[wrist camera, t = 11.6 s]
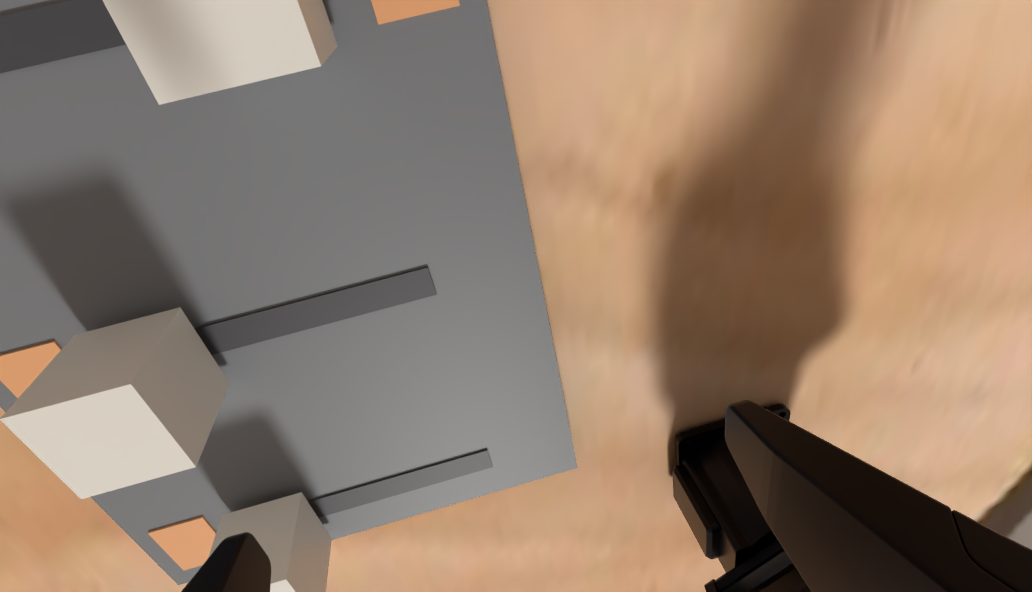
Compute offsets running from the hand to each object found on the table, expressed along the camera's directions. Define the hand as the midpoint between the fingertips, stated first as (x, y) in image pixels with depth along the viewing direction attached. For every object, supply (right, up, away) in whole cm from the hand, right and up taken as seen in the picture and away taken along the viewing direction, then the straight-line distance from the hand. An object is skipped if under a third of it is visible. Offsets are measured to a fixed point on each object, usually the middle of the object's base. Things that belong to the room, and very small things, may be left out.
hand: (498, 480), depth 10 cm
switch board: (-9, +3, +11) cm, 14 cm away
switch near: (-7, +11, +4) cm, 14 cm away
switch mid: (-12, +1, +9) cm, 15 cm away
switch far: (-10, -7, +14) cm, 19 cm away
